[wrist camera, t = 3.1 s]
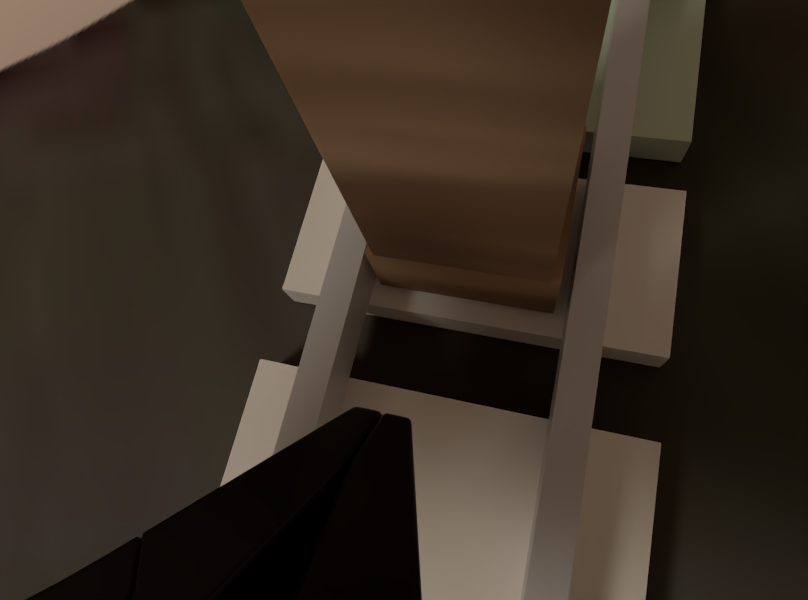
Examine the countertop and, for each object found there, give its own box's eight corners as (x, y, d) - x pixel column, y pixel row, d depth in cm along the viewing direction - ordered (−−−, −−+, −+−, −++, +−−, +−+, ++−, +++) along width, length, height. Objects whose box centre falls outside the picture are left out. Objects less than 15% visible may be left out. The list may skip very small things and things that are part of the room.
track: (623, 704, 12) (666, 774, 9) (210, 577, 15) (126, 596, 11) (699, -16, 18) (741, -129, 15) (395, -29, 21) (374, -130, 17)
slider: (553, 313, 14) (639, -21, 5) (381, 284, 15) (203, -40, 6) (576, 172, 15) (680, -304, 6) (416, 153, 16) (308, -281, 7)
